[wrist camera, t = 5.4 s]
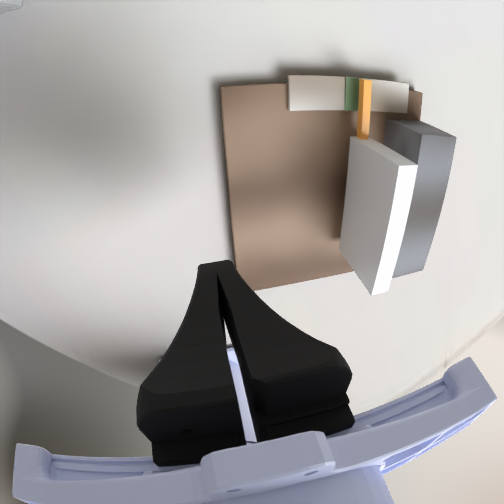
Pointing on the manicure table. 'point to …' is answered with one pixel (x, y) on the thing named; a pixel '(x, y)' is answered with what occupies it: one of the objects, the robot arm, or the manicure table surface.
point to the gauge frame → (319, 173)
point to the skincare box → (10, 5)
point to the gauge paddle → (374, 203)
